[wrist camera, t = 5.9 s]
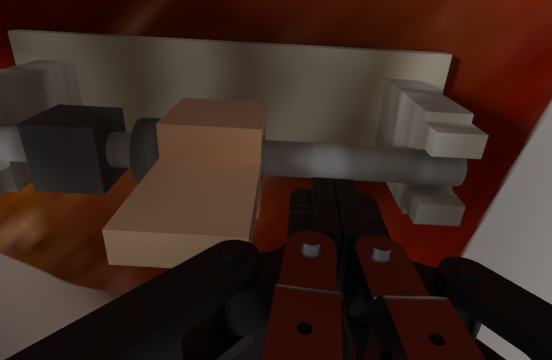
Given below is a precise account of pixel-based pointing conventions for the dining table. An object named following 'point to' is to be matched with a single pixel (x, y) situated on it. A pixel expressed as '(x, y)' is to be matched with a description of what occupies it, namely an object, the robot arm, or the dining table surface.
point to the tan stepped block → (194, 185)
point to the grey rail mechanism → (239, 87)
